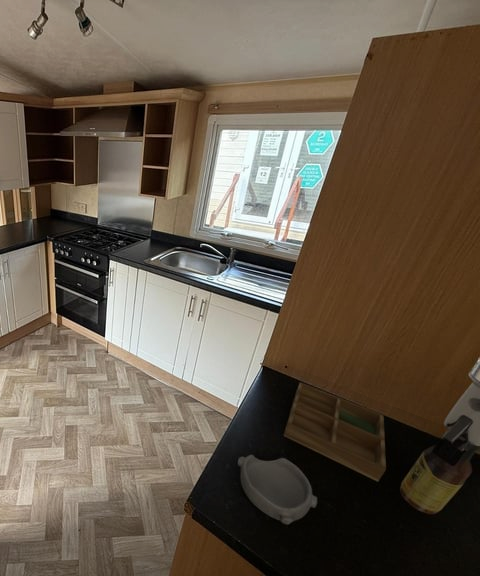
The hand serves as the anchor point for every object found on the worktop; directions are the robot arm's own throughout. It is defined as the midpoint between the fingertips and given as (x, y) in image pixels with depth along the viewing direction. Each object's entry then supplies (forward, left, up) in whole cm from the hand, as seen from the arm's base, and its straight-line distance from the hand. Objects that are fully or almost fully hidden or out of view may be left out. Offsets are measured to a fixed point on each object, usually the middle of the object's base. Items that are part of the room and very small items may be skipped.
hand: (451, 453), depth 58 cm
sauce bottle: (0, 0, -15) cm, 15 cm away
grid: (-7, -21, -21) cm, 30 cm away
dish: (+22, -13, -21) cm, 33 cm away
